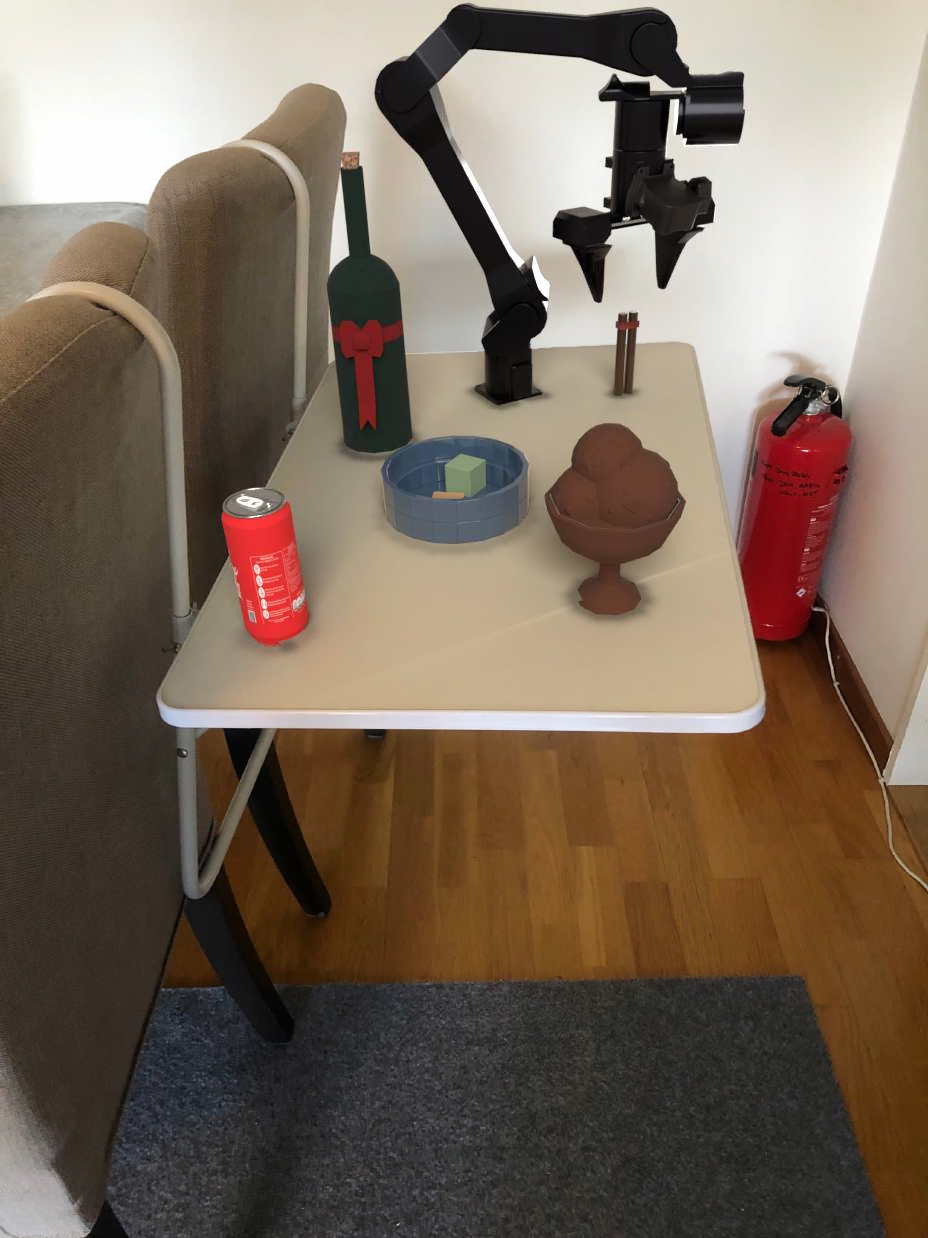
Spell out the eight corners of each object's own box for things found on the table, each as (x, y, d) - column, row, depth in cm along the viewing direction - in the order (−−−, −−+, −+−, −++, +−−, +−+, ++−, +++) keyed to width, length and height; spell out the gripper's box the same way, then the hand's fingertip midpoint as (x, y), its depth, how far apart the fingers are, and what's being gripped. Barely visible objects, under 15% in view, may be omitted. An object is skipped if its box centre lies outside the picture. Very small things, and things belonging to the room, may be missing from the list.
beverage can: (281, 656, 73) (256, 524, 66) (234, 637, 75) (204, 508, 68) (323, 623, 77) (303, 494, 70) (276, 606, 79) (252, 480, 72)
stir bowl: (363, 501, 94) (358, 456, 91) (484, 467, 99) (483, 424, 96) (424, 564, 84) (421, 516, 81) (556, 523, 89) (557, 476, 86)
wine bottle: (336, 467, 101) (296, 166, 83) (349, 429, 109) (316, 147, 91) (407, 466, 100) (383, 163, 83) (415, 427, 108) (395, 144, 91)
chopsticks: (611, 392, 115) (616, 312, 109) (629, 389, 116) (635, 309, 110) (615, 396, 114) (620, 315, 108) (634, 392, 115) (640, 312, 109)
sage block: (461, 479, 96) (460, 453, 94) (486, 486, 94) (485, 459, 93) (445, 491, 94) (444, 464, 92) (470, 498, 92) (469, 471, 91)
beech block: (435, 518, 89) (433, 491, 87) (466, 520, 89) (464, 492, 87) (429, 534, 87) (428, 506, 85) (461, 535, 86) (460, 507, 85)
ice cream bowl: (524, 615, 76) (523, 450, 68) (574, 552, 84) (580, 396, 76) (646, 648, 72) (663, 476, 63) (688, 577, 80) (708, 416, 71)
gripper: (612, 168, 89) (604, 328, 98) (758, 146, 96) (738, 297, 105) (550, 153, 98) (548, 302, 107) (689, 134, 104) (676, 276, 113)
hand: (630, 295), depth 108 cm, fingers open, 9 cm apart
